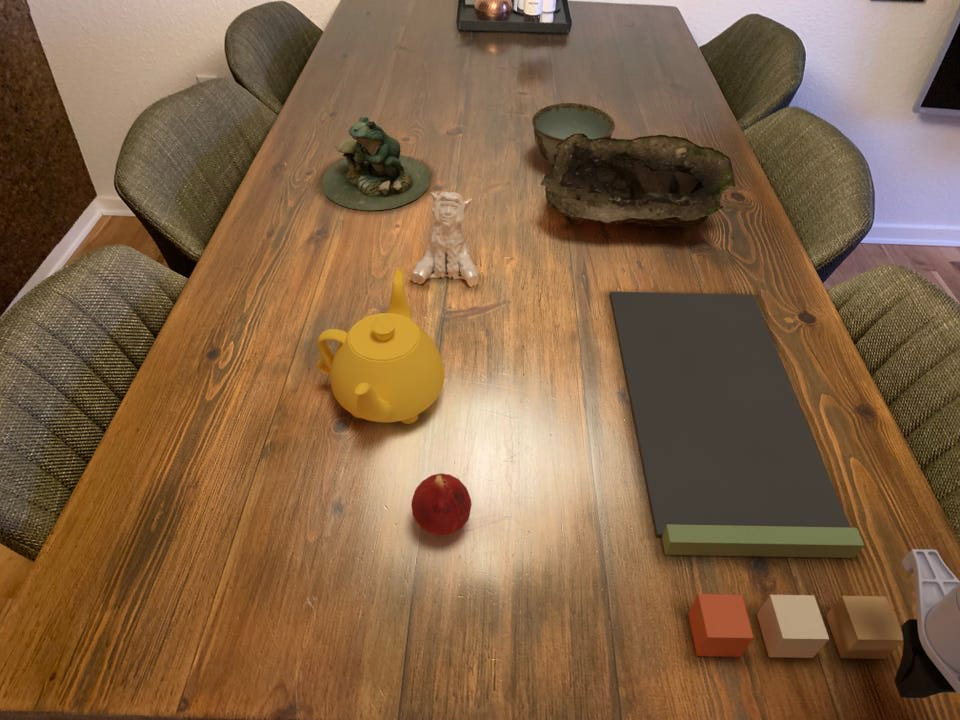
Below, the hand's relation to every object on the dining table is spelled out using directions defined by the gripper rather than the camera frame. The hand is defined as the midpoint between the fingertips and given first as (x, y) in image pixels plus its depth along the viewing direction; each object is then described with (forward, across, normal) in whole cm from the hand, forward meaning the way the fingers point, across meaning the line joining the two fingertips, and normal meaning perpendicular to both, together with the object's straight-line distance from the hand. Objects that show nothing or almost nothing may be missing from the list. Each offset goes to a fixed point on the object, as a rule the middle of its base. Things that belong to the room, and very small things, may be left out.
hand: (909, 688), depth 57 cm
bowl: (+6, +89, +19) cm, 92 cm away
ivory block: (+5, +6, +6) cm, 10 cm away
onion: (+5, +17, +38) cm, 42 cm away
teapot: (+5, +35, +46) cm, 58 cm away
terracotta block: (+5, +6, +13) cm, 15 cm away
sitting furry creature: (+6, +60, +40) cm, 72 cm away
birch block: (+5, +6, 0) cm, 8 cm away
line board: (+5, +35, +7) cm, 36 cm away
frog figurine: (+6, +82, +52) cm, 98 cm away
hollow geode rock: (+6, +72, +12) cm, 73 cm away
